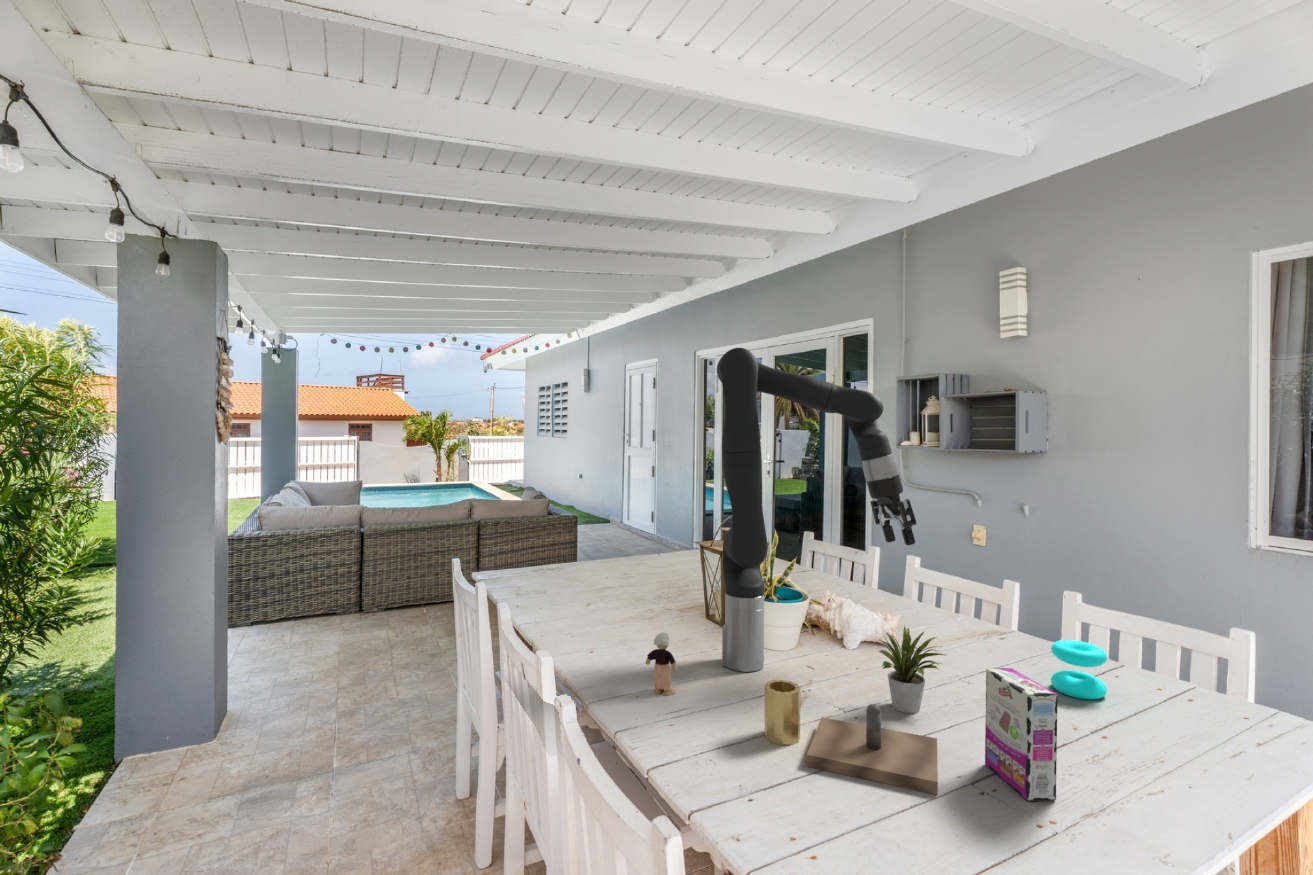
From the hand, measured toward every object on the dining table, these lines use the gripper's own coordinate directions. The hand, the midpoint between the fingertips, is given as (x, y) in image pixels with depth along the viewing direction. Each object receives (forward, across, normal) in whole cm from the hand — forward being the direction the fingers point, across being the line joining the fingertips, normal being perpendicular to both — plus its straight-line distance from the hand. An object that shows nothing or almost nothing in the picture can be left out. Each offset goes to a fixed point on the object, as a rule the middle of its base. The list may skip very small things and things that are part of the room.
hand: (900, 543), depth 147 cm
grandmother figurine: (+16, +1, -63) cm, 65 cm away
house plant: (+28, +16, -18) cm, 37 cm away
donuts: (+38, +14, +23) cm, 47 cm away
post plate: (+26, +33, -33) cm, 53 cm away
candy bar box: (+32, +43, -14) cm, 56 cm away
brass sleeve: (+22, +23, -45) cm, 56 cm away
